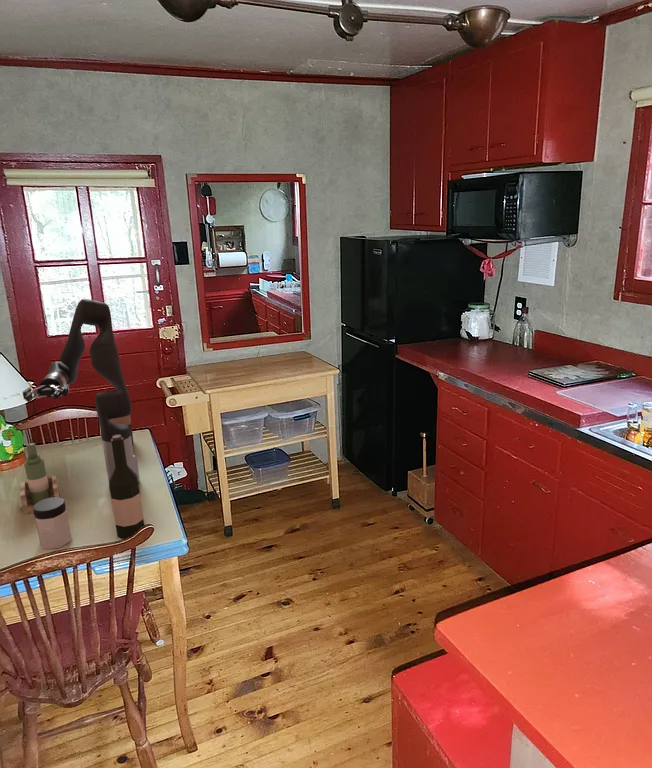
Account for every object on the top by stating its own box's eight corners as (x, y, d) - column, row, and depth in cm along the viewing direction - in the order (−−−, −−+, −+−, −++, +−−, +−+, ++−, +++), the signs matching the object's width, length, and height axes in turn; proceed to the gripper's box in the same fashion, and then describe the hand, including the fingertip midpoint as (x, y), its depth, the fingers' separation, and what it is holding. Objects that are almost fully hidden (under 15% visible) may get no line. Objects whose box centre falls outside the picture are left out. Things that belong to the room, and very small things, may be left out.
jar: (33, 550, 158) (25, 512, 155) (45, 534, 166) (38, 497, 163) (66, 548, 159) (59, 510, 155) (77, 532, 167) (70, 496, 163)
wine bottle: (140, 539, 162) (126, 441, 153) (111, 539, 162) (95, 442, 154) (149, 523, 170) (136, 430, 161) (122, 524, 170) (107, 431, 161)
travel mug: (129, 438, 235) (122, 392, 230) (137, 443, 230) (130, 396, 224) (111, 444, 231) (103, 397, 225) (118, 449, 225) (111, 401, 219)
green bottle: (55, 498, 186) (44, 442, 180) (42, 507, 181) (30, 449, 175) (41, 496, 188) (30, 440, 182) (28, 504, 183) (16, 447, 177)
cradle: (24, 500, 186) (20, 482, 185) (58, 493, 191) (55, 475, 189) (24, 514, 178) (20, 496, 176) (60, 506, 182) (57, 487, 180)
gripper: (30, 376, 206) (16, 389, 191) (71, 373, 208) (62, 385, 193) (33, 396, 208) (21, 410, 193) (75, 392, 211) (65, 406, 195)
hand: (41, 398), depth 193 cm, fingers open, 8 cm apart
